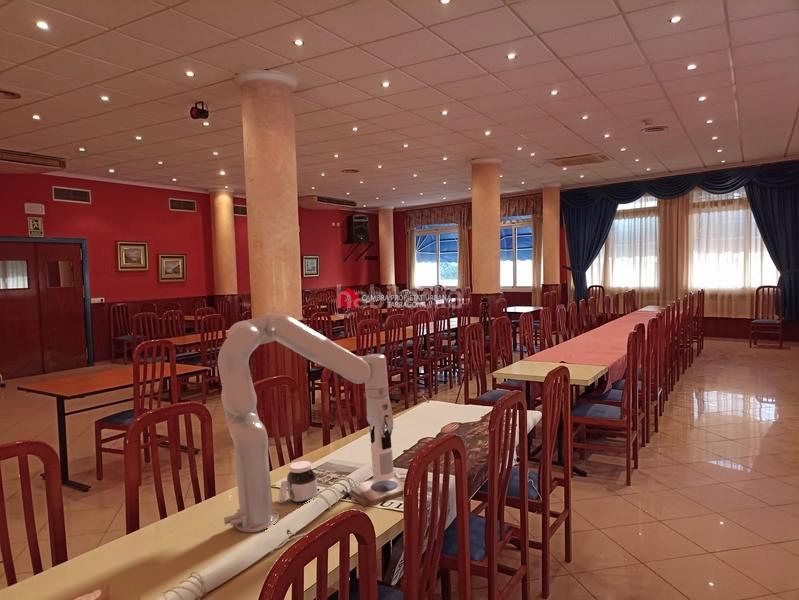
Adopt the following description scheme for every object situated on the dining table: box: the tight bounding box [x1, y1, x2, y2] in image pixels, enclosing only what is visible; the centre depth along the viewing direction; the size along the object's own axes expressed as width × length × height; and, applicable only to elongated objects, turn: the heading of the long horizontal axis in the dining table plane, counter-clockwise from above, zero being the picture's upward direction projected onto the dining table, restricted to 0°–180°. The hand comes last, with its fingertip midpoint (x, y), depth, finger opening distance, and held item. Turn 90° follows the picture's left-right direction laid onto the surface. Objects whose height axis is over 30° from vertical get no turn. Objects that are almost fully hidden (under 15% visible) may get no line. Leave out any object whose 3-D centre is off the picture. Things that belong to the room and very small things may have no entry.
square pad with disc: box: [348, 475, 404, 508], centre depth 179 cm, size 18×16×2 cm
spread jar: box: [277, 460, 318, 505], centre depth 176 cm, size 12×11×12 cm
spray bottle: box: [370, 425, 395, 481], centre depth 178 cm, size 7×7×18 cm
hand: (381, 445), depth 178 cm, fingers closed on spray bottle, 6 cm apart
